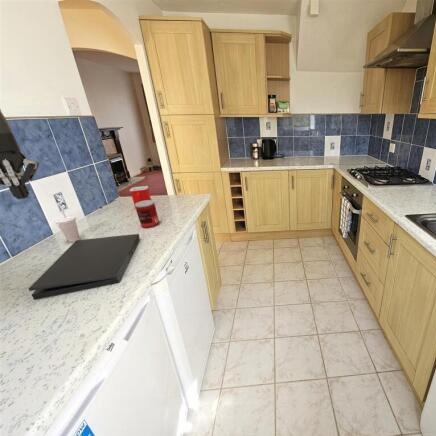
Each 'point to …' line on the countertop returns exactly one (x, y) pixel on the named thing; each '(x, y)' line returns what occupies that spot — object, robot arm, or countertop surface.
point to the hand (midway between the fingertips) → (22, 198)
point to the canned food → (147, 213)
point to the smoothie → (68, 227)
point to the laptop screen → (88, 262)
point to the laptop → (83, 286)
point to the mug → (140, 194)
